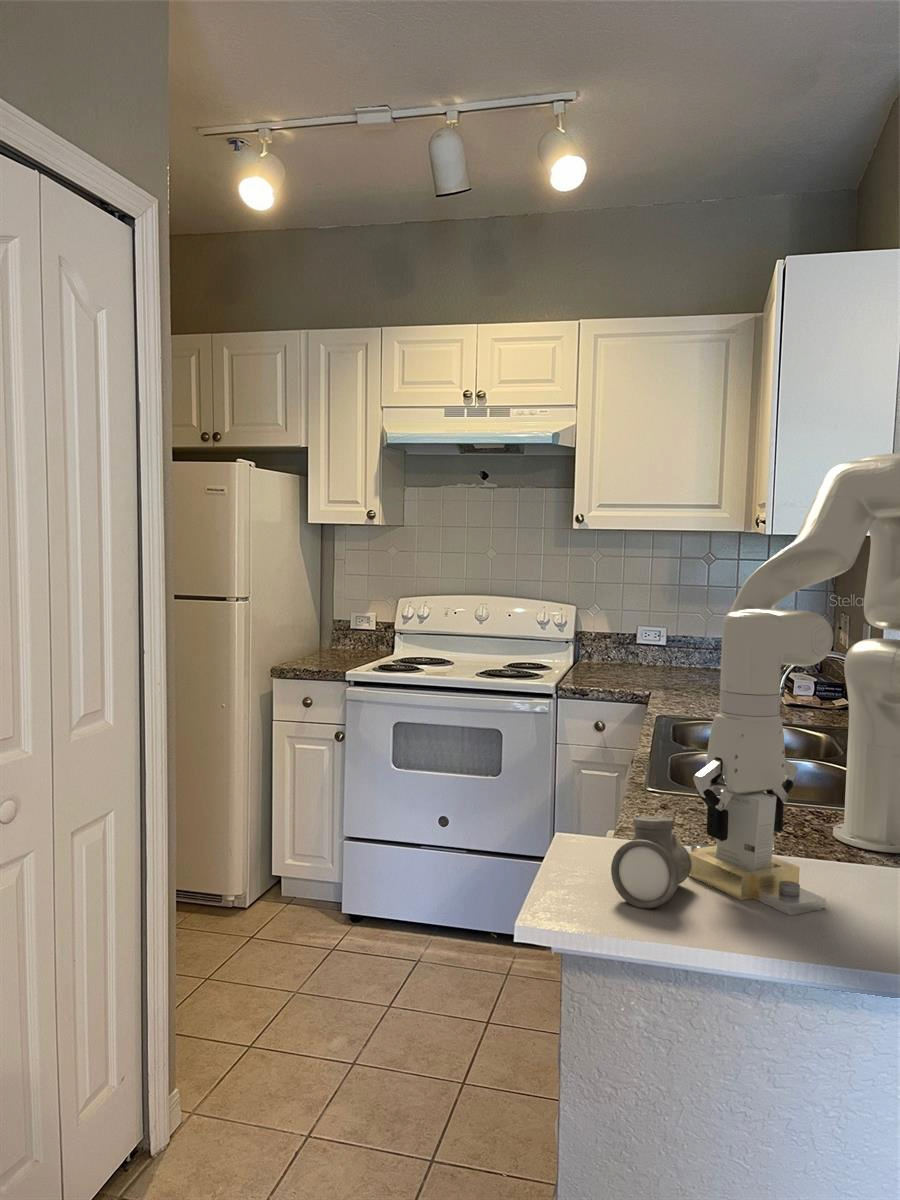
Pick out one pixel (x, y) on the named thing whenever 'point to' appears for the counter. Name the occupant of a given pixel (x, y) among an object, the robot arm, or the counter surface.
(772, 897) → the open yellow tray
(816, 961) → the counter surface
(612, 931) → the counter surface
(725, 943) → the counter surface
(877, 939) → the counter surface
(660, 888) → the pipe fitting
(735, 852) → the skincare box
